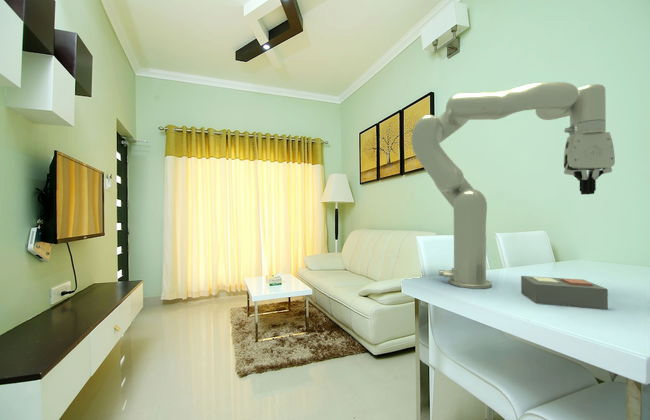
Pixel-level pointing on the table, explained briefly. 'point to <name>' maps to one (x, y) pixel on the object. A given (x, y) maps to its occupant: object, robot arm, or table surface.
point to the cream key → (545, 280)
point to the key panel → (565, 293)
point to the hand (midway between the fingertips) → (587, 193)
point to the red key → (576, 282)
